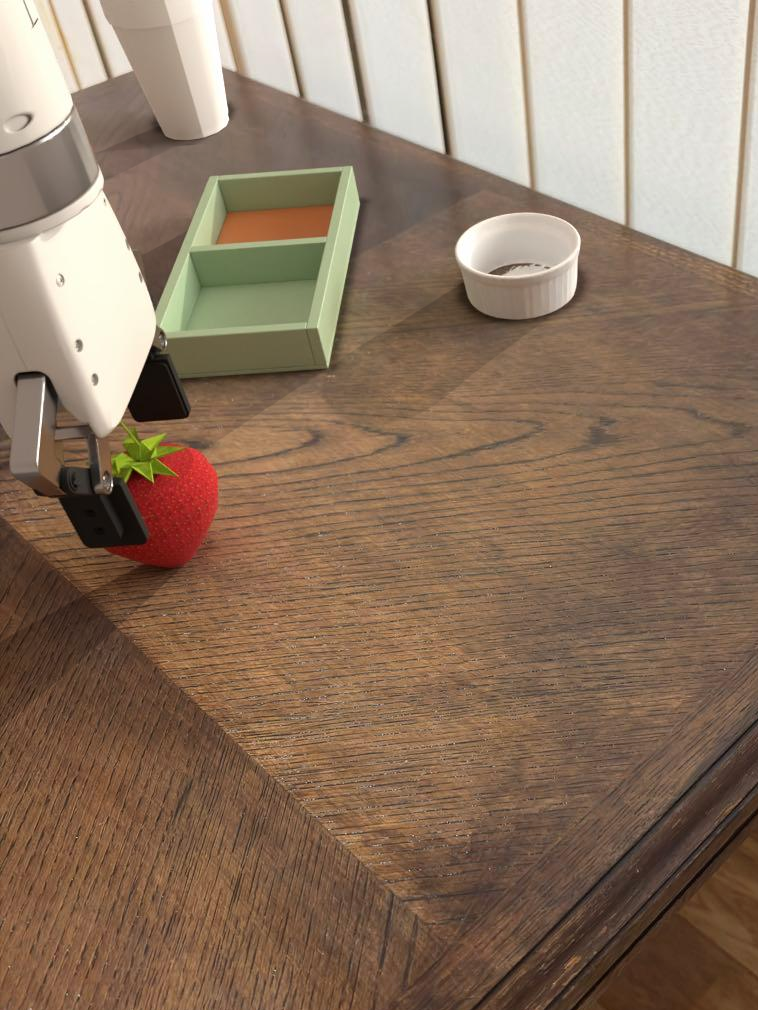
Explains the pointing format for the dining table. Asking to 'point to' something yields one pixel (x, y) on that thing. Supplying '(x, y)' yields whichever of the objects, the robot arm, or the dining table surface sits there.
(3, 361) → the robot arm
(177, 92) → the foam cup
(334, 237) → the tray
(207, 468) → the strawberry
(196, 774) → the dining table surface
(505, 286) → the ramekin
